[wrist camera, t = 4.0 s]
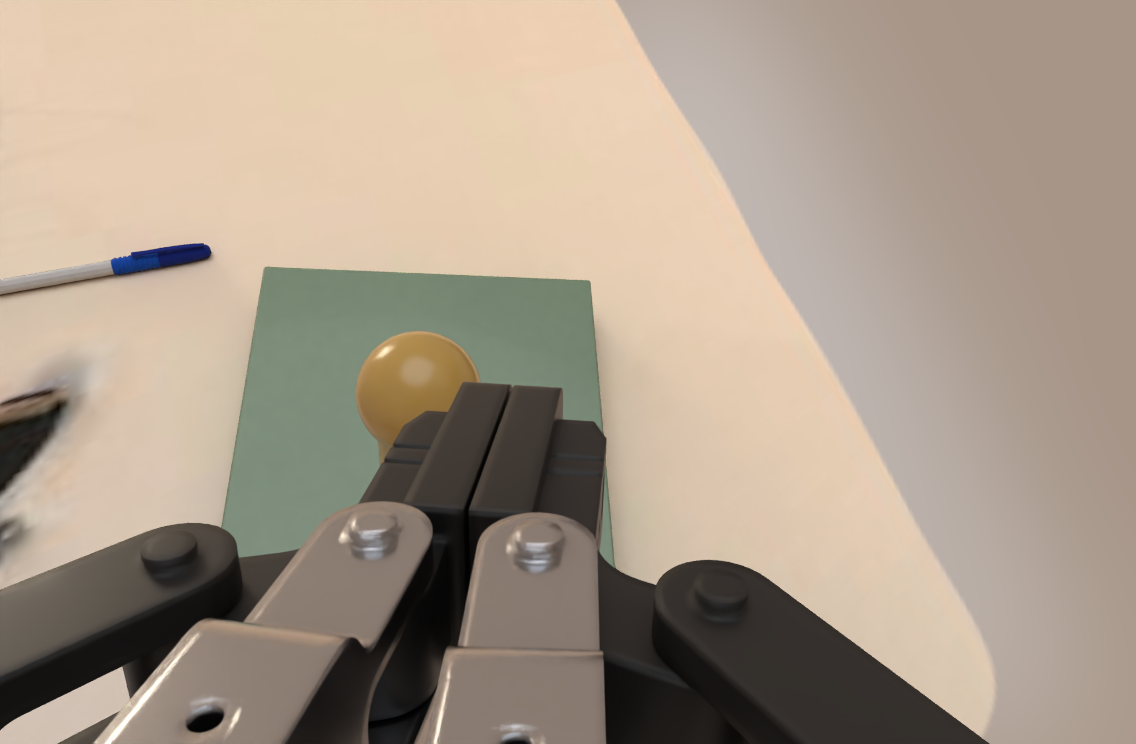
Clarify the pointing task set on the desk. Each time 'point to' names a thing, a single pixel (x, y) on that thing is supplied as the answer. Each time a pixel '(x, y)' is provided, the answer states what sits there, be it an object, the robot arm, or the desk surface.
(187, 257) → the ballpoint pen
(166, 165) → the desk surface
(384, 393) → the yellow lever
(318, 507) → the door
